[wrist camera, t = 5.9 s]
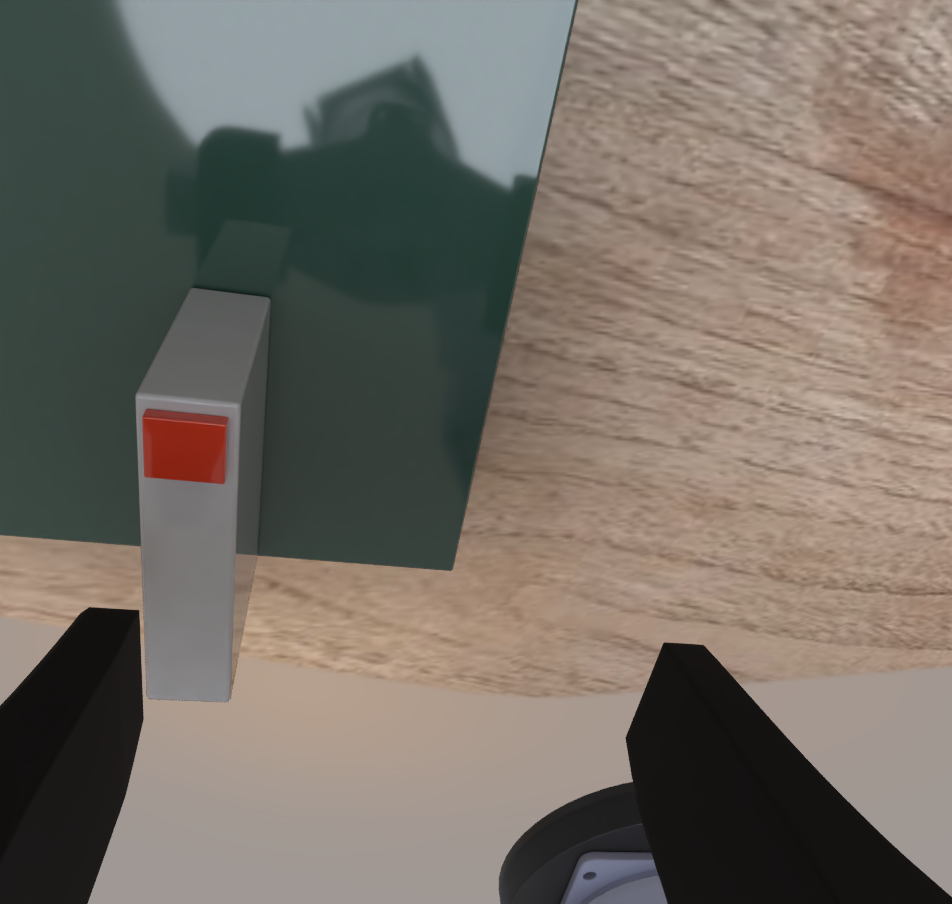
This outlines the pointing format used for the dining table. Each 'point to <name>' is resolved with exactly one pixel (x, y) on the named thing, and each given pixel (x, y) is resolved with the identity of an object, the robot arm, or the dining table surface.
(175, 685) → the grey block red tab
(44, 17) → the green rectangular block base
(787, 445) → the dining table surface
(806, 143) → the dining table surface
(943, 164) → the dining table surface
